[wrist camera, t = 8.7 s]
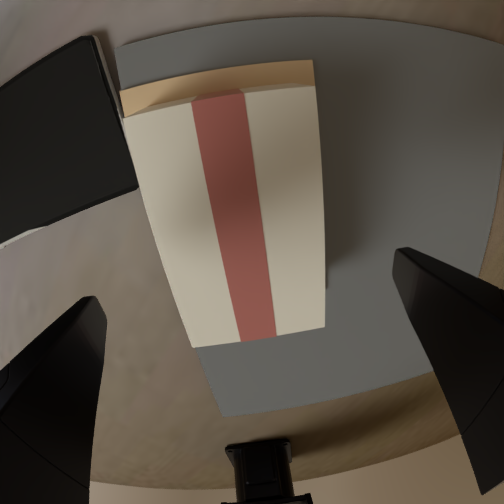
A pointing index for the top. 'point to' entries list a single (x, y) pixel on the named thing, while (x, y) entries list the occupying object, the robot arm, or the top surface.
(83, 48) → the smartphone
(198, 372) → the top surface
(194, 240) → the card box
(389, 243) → the mat
